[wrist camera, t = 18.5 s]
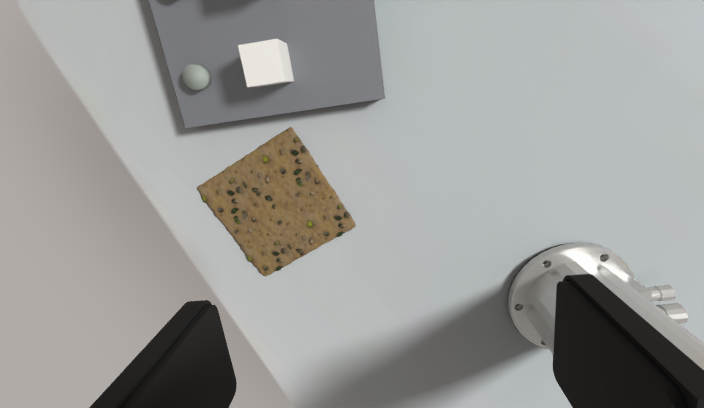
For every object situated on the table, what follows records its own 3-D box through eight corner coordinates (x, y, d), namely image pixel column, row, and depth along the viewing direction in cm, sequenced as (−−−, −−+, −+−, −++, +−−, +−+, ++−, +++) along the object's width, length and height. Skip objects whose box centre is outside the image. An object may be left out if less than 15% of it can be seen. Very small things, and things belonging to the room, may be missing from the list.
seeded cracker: (292, 123, 34) (290, 124, 33) (358, 224, 37) (358, 228, 37) (195, 185, 37) (191, 188, 36) (265, 276, 40) (263, 280, 39)
